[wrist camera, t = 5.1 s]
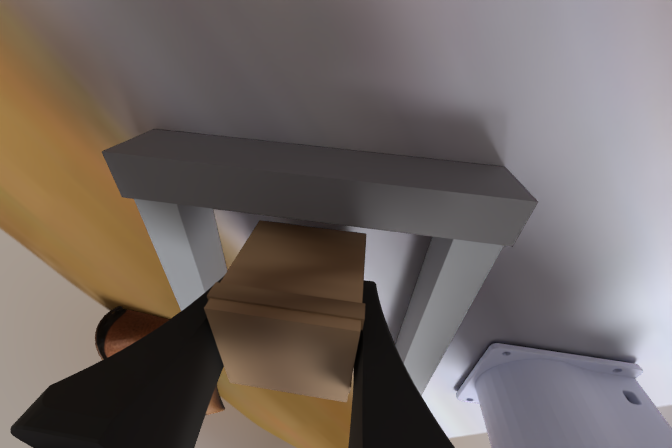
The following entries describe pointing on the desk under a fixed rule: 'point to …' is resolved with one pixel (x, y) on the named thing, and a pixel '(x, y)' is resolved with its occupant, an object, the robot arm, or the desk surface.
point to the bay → (327, 214)
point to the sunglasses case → (134, 338)
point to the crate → (291, 310)
